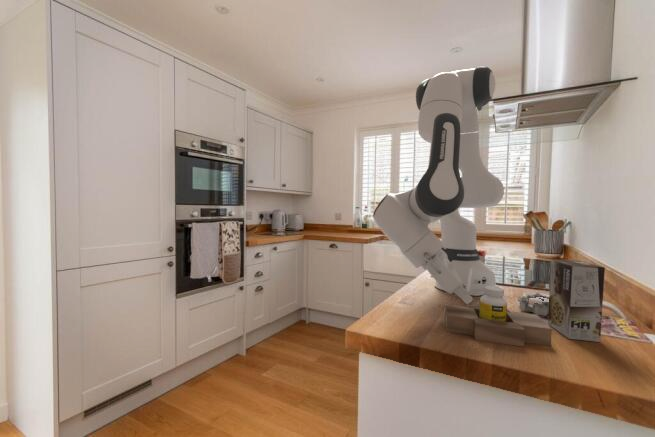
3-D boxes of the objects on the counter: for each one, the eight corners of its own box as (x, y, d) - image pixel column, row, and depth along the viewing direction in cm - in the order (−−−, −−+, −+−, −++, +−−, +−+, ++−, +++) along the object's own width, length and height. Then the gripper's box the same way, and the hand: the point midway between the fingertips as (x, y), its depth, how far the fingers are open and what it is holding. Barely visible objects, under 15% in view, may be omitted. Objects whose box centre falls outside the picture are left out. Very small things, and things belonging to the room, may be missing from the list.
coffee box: (602, 342, 65) (606, 267, 64) (567, 339, 66) (571, 265, 65) (576, 326, 74) (580, 260, 73) (546, 323, 75) (550, 258, 74)
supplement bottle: (490, 336, 67) (492, 291, 66) (473, 326, 72) (475, 285, 72) (511, 334, 68) (513, 290, 68) (492, 324, 73) (494, 284, 73)
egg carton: (542, 318, 80) (542, 302, 80) (513, 309, 87) (514, 294, 86) (565, 312, 84) (566, 297, 84) (536, 304, 91) (537, 290, 91)
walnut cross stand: (443, 314, 80) (444, 301, 79) (532, 325, 73) (533, 311, 73) (447, 335, 66) (447, 319, 66) (555, 351, 60) (556, 333, 60)
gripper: (436, 247, 63) (487, 299, 61) (433, 238, 83) (471, 277, 80) (413, 267, 65) (461, 318, 62) (416, 253, 84) (452, 292, 82)
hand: (467, 295), depth 71 cm, fingers open, 8 cm apart
